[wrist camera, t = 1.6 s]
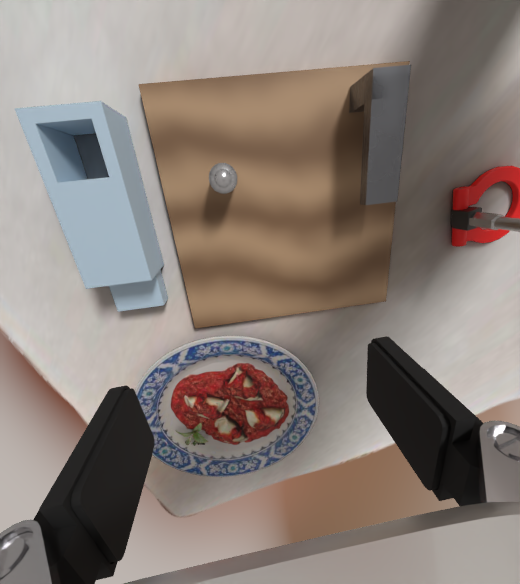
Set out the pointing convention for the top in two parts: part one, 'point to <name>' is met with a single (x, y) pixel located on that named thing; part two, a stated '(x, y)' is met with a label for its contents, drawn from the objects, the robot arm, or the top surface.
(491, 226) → the tow hook
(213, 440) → the ceramic plate
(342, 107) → the board
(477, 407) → the top surface
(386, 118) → the bracket
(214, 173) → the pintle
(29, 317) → the top surface
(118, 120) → the link
